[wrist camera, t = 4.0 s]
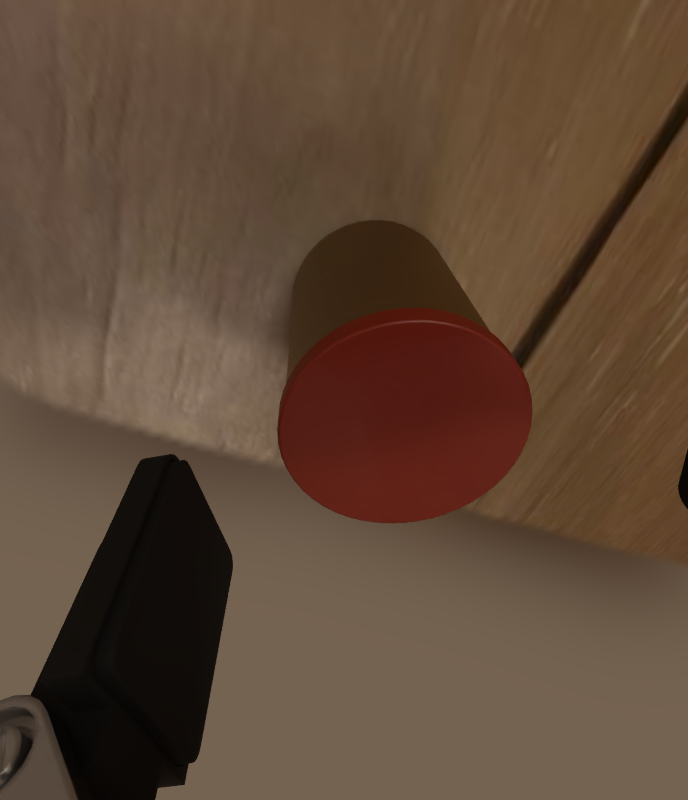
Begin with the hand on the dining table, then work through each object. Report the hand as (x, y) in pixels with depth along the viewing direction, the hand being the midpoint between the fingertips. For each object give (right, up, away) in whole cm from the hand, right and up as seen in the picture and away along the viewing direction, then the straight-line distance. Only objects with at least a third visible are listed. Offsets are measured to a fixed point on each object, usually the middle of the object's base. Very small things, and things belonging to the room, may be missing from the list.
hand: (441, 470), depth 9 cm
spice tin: (-1, +5, +7) cm, 8 cm away
